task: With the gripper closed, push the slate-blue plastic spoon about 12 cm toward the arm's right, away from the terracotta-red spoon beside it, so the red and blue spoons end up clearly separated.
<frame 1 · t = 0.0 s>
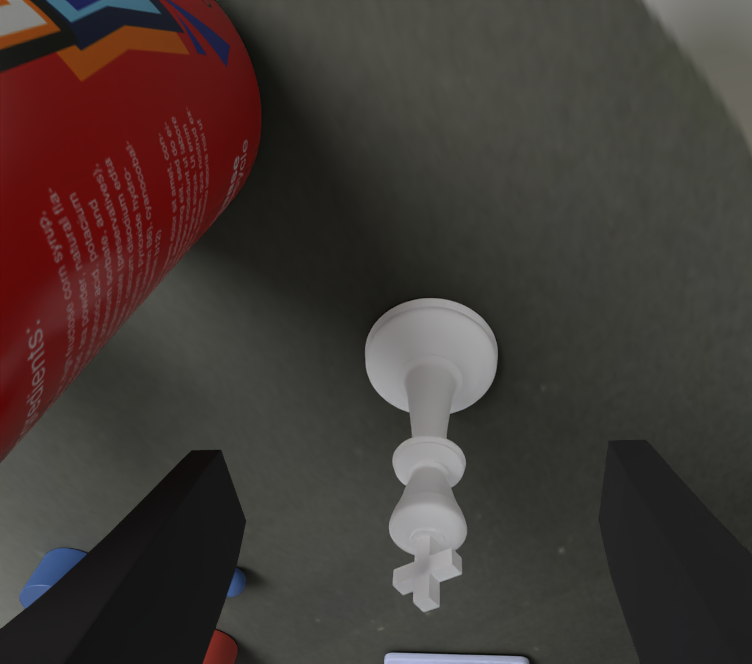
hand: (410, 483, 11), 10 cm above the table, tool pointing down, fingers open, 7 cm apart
chess piece: (430, 352, 22), on the table
soda can: (145, 93, 17), on the table
blue spoon: (137, 569, 31), on the table
red spoon: (153, 642, 34), on the table
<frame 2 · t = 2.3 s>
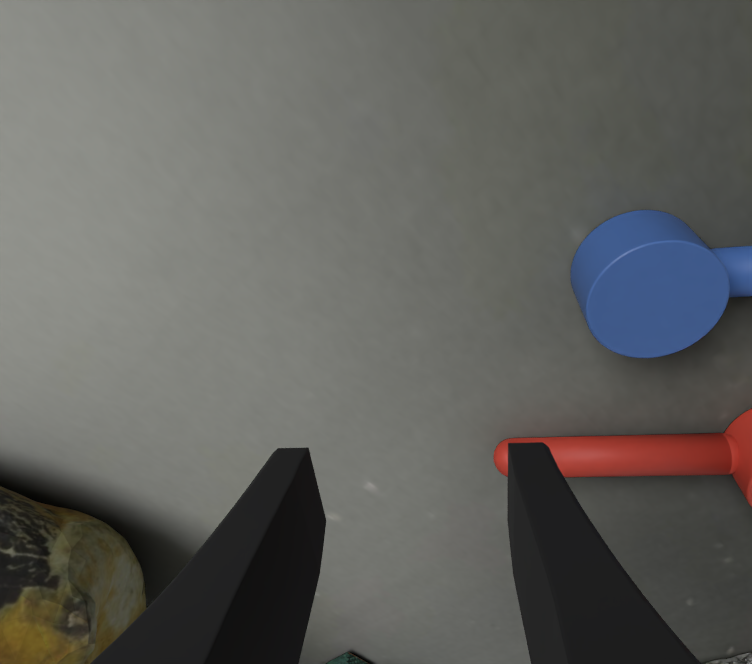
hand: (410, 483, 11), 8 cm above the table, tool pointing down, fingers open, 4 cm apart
stone: (158, 655, 24), point 4 cm above the table
red spoon: (668, 440, 20), on the table
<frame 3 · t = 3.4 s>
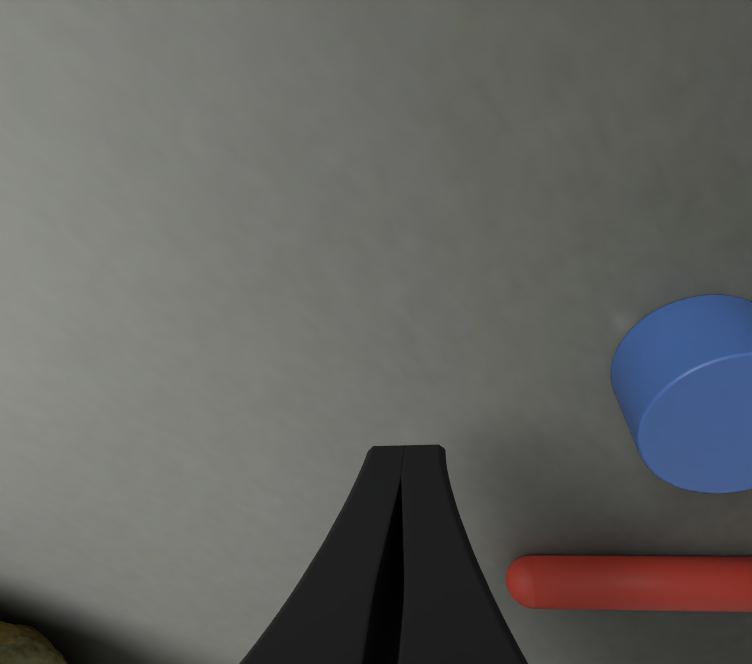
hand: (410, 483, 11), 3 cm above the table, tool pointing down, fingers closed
red spoon: (726, 561, 16), on the table
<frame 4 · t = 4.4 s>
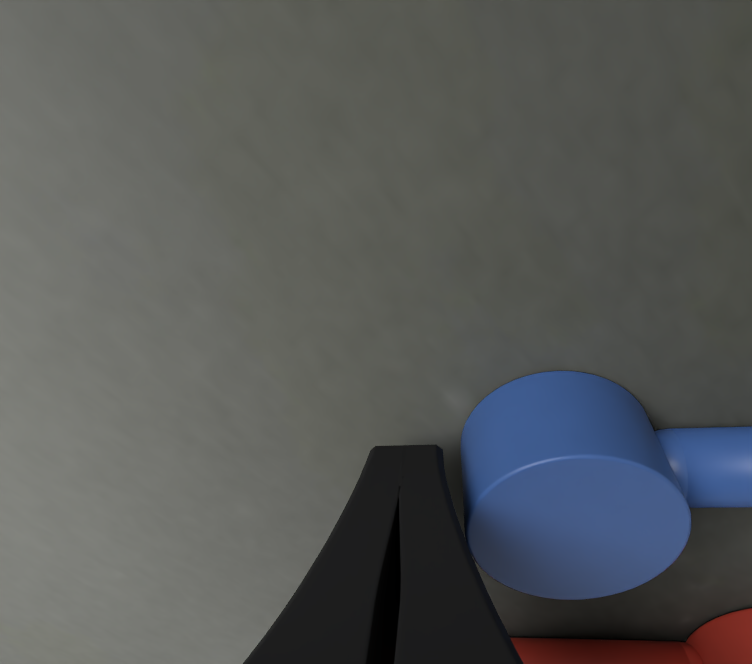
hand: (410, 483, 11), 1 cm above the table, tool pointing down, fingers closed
blue spoon: (743, 439, 11), on the table, touching gripper
red spoon: (611, 643, 15), on the table
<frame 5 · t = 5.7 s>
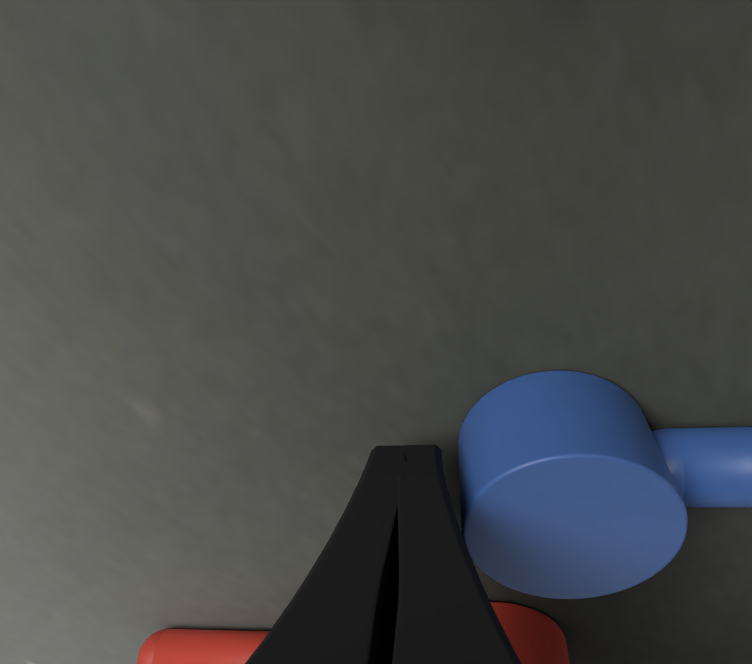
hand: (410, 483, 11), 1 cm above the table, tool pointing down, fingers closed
blue spoon: (741, 439, 11), on the table, touching gripper
red spoon: (364, 637, 16), on the table
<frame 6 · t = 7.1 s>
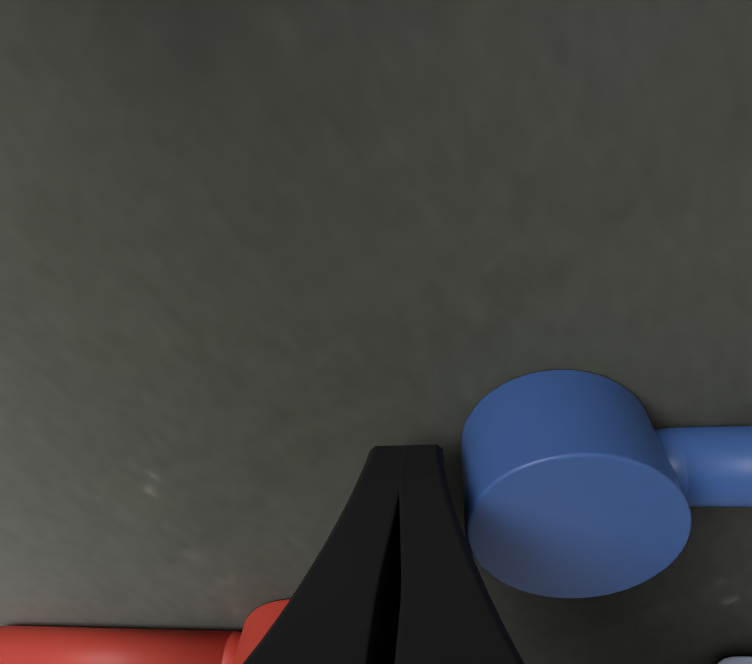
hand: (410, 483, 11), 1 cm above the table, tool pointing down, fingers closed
blue spoon: (744, 438, 11), on the table, touching gripper
red spoon: (189, 633, 16), on the table
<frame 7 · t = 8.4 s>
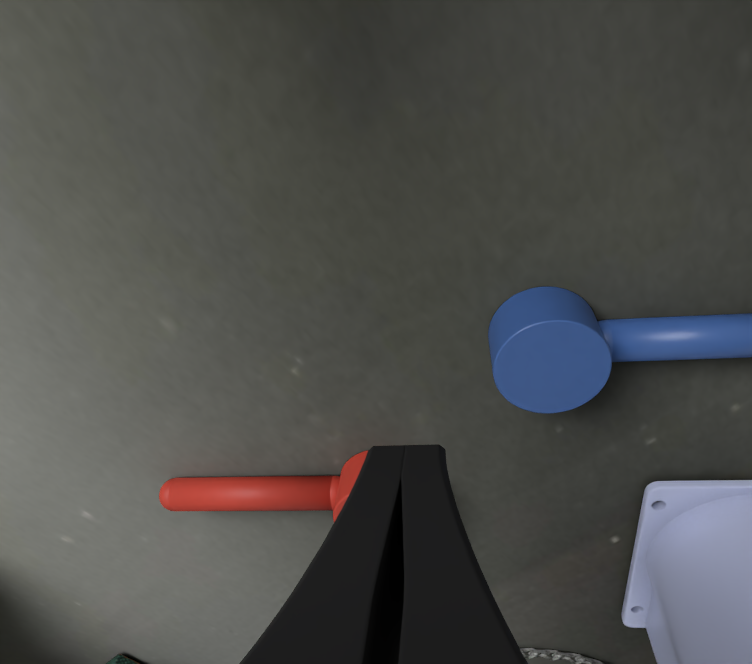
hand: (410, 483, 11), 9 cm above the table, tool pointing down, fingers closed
blue spoon: (648, 327, 19), on the table
red spoon: (302, 480, 25), on the table
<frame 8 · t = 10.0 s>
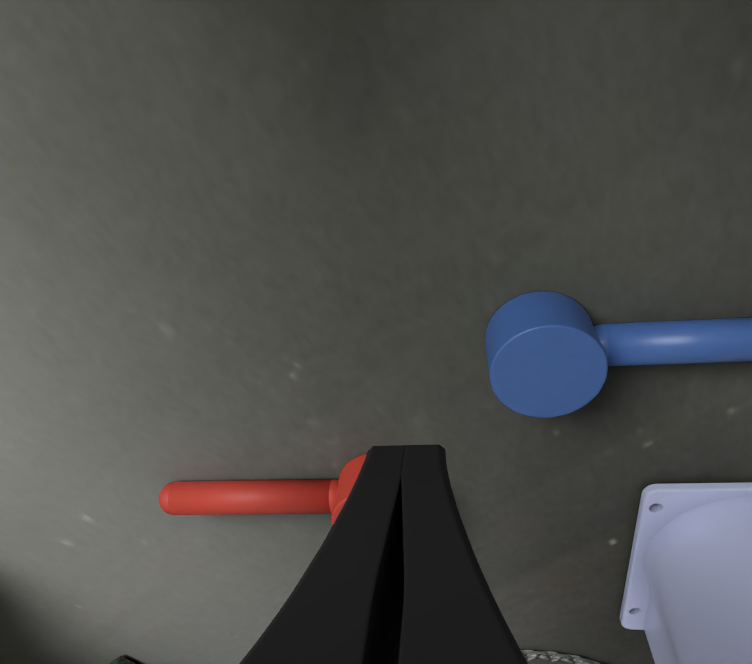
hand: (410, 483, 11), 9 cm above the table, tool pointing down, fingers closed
blue spoon: (644, 331, 19), on the table
red spoon: (301, 484, 25), on the table
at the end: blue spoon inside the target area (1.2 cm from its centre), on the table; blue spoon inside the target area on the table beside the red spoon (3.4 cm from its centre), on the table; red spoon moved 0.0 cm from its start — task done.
